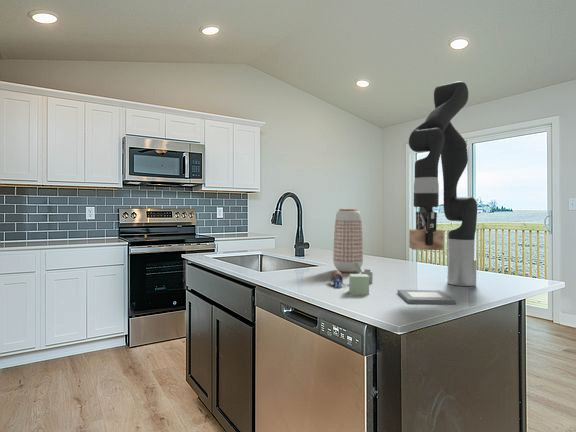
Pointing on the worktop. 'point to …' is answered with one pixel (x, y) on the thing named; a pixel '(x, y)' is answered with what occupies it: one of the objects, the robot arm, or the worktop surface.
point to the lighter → (364, 272)
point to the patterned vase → (348, 240)
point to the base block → (419, 240)
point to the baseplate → (426, 297)
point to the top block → (359, 283)
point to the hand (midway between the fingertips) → (425, 244)
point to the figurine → (337, 278)
